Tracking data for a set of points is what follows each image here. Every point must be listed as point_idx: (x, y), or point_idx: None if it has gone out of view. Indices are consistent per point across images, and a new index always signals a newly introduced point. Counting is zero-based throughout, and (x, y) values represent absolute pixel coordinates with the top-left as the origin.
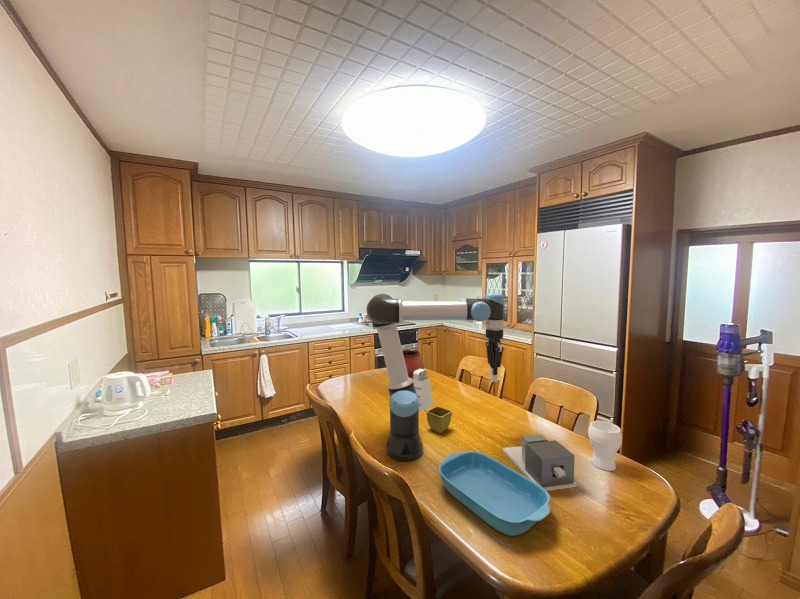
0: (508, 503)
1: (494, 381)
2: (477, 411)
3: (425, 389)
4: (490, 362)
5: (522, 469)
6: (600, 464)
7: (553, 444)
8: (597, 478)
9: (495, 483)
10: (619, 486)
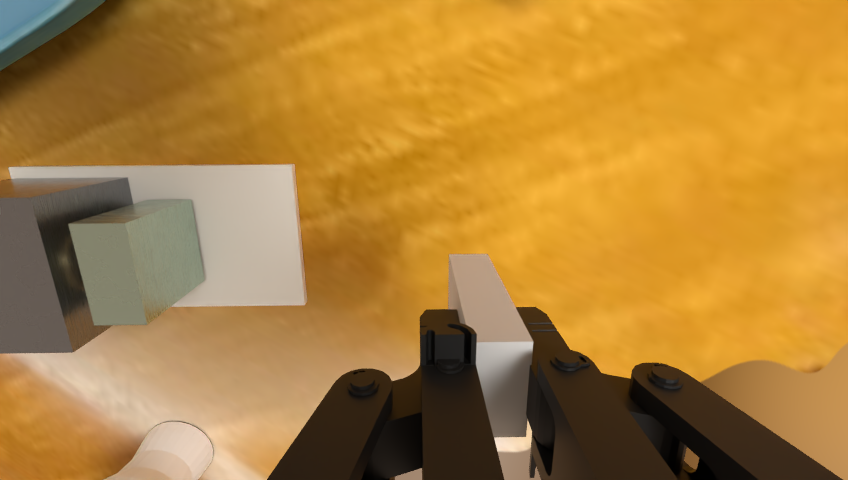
0: None
1: (449, 287)
2: (677, 211)
3: None
4: (571, 396)
5: (129, 168)
6: (148, 438)
7: (31, 322)
8: (106, 388)
9: (33, 9)
10: (67, 419)
